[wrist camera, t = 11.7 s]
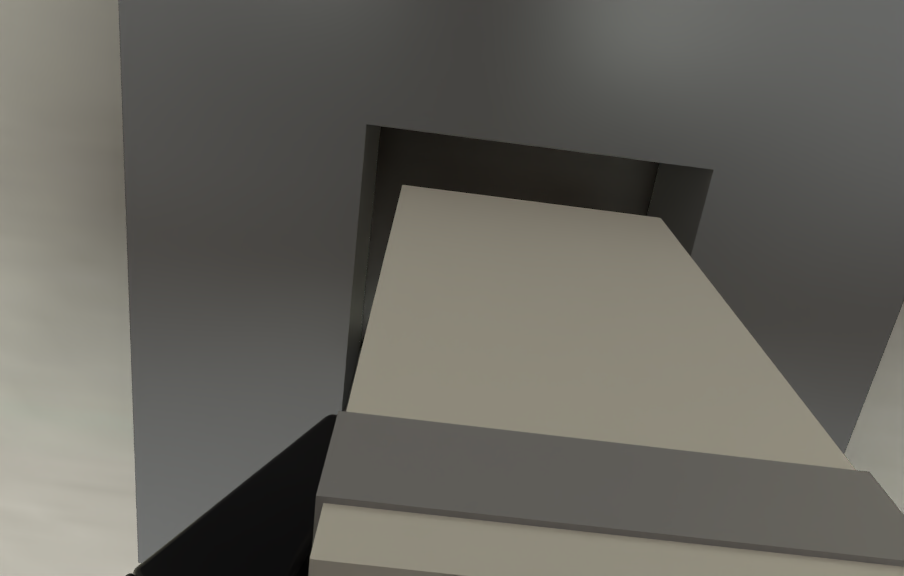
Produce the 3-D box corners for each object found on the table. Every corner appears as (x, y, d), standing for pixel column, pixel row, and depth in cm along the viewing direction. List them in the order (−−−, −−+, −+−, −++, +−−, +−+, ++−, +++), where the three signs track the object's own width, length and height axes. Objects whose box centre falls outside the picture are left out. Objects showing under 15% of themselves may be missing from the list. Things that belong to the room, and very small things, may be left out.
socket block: (962, -47, 14) (1623, -52, 6) (722, 632, 20) (891, 1063, 12) (184, -160, 13) (-214, -329, 5) (187, 575, 20) (5, 990, 12)
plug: (664, 215, 12) (992, 626, 5) (609, 438, 14) (787, 1008, 6) (399, 181, 12) (301, 552, 4) (374, 411, 13) (272, 965, 6)
